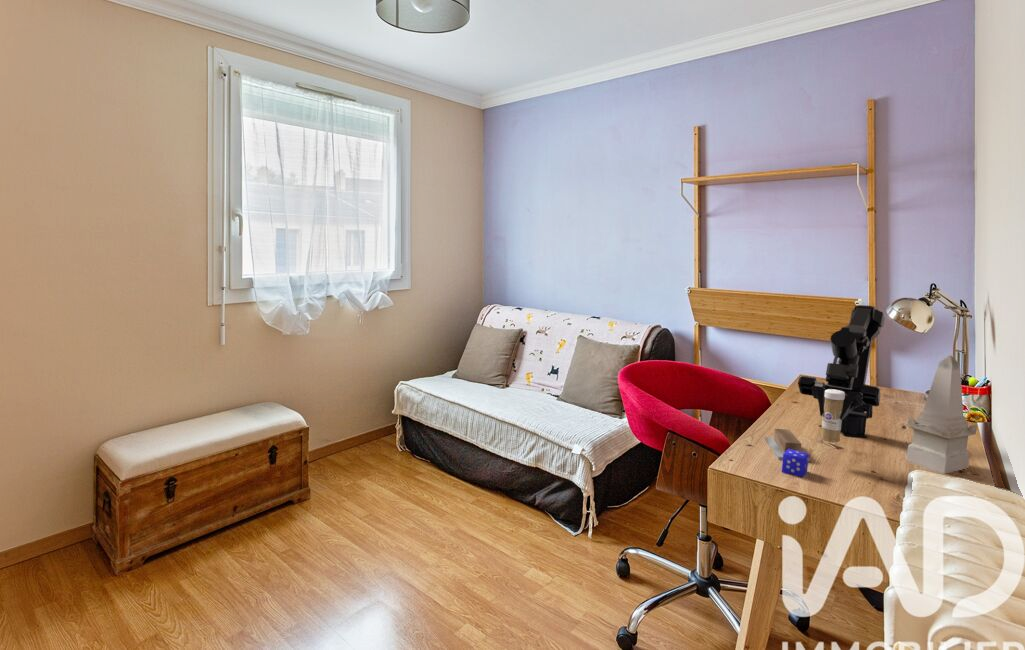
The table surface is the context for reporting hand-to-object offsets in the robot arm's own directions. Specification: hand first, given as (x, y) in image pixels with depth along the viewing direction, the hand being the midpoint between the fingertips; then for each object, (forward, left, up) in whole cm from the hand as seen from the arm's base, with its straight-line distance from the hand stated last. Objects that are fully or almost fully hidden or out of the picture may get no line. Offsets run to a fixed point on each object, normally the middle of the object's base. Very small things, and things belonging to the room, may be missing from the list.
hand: (831, 417), depth 143 cm
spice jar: (-1, -1, -7) cm, 7 cm away
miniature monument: (-29, -8, -14) cm, 34 cm away
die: (+10, +7, -14) cm, 18 cm away
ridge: (+8, -9, -13) cm, 18 cm away
